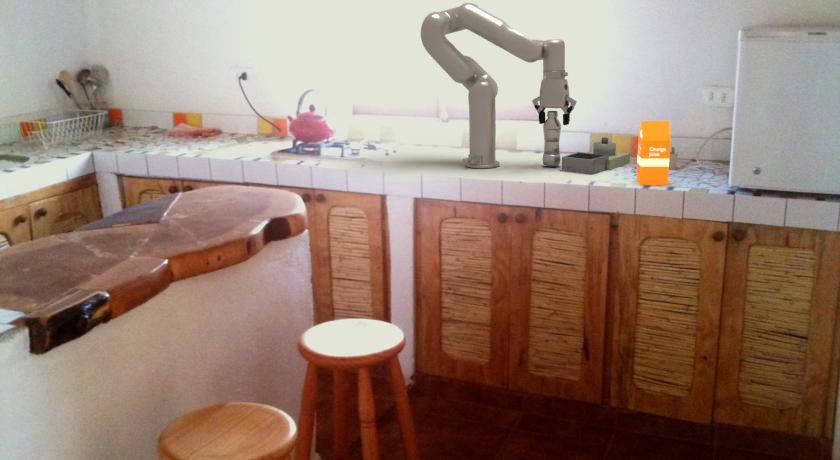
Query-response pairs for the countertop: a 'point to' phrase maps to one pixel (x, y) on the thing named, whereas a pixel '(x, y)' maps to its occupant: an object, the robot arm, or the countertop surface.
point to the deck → (616, 160)
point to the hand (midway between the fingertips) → (554, 124)
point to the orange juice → (653, 153)
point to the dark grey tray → (584, 163)
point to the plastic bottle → (551, 140)
